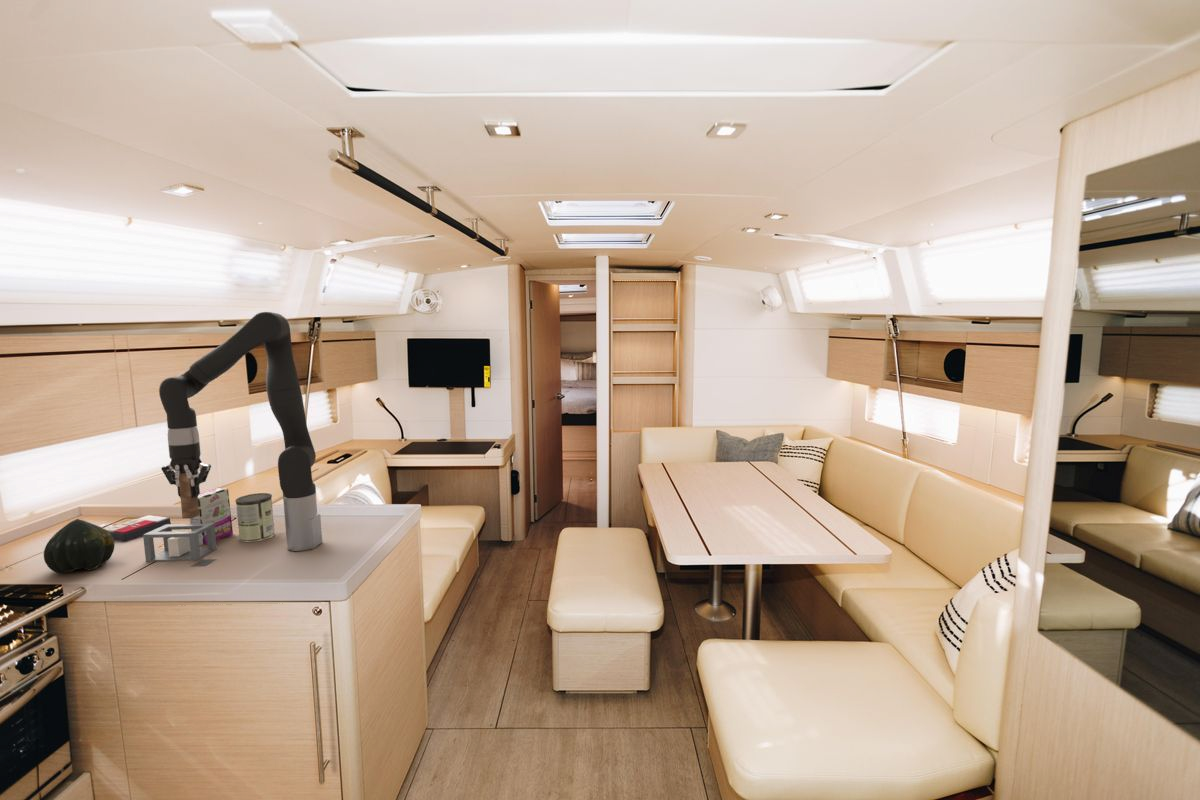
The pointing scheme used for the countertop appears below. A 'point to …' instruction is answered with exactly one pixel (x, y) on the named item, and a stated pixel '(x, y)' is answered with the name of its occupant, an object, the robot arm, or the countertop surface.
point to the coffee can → (255, 517)
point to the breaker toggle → (178, 546)
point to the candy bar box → (214, 513)
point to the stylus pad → (204, 562)
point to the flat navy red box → (137, 527)
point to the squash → (78, 547)
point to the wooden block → (187, 498)
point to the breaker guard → (167, 533)
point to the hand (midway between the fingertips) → (189, 497)
